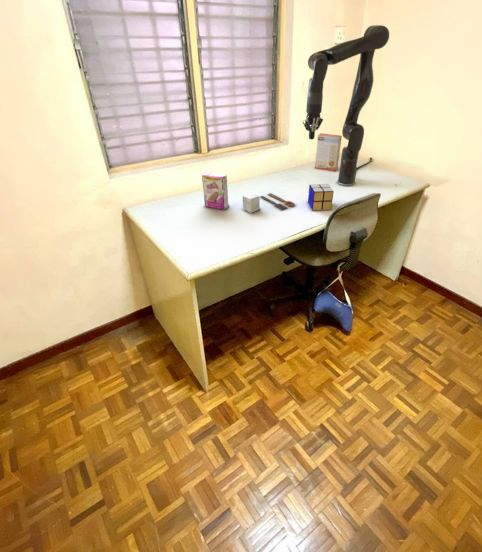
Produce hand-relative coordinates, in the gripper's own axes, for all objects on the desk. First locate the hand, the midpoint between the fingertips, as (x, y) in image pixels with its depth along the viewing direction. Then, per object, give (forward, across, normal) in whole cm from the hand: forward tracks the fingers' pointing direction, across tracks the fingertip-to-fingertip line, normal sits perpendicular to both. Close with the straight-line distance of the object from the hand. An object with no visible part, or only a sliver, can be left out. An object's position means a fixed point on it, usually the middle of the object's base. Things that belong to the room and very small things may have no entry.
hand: (311, 138), depth 173 cm
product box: (+27, -42, -3) cm, 50 cm away
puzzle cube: (+27, -12, -21) cm, 36 cm away
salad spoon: (+27, -23, -4) cm, 36 cm away
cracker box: (+27, +34, +17) cm, 47 cm away
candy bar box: (+27, -54, +10) cm, 61 cm away
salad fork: (+27, -28, -4) cm, 39 cm away
